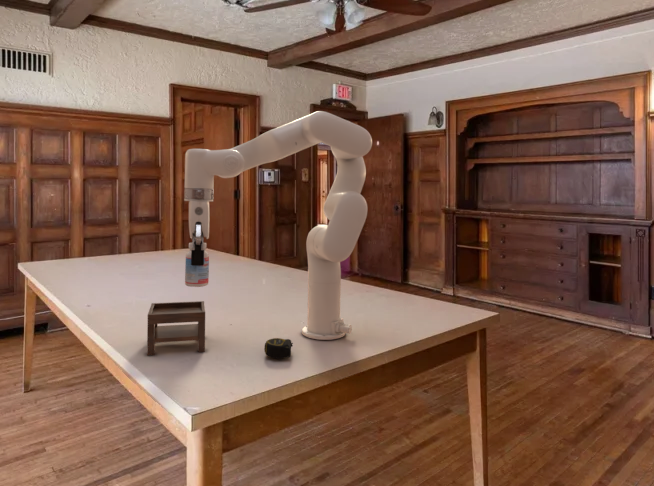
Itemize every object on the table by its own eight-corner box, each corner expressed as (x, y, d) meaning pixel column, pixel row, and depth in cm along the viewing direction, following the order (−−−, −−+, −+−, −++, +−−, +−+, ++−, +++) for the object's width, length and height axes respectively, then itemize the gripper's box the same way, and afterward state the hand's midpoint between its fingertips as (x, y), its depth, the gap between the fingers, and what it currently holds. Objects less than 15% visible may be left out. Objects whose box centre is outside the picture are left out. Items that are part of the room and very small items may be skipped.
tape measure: (290, 362, 112) (291, 346, 112) (262, 360, 113) (262, 345, 113) (292, 352, 119) (292, 337, 119) (266, 351, 119) (266, 336, 119)
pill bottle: (202, 288, 120) (203, 244, 120) (180, 286, 121) (181, 243, 121) (212, 283, 126) (213, 242, 126) (191, 282, 127) (192, 241, 127)
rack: (203, 337, 130) (204, 301, 130) (204, 351, 118) (205, 312, 118) (151, 340, 127) (151, 303, 127) (147, 355, 115) (147, 314, 115)
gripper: (214, 196, 116) (213, 268, 116) (211, 195, 132) (210, 258, 133) (183, 195, 114) (182, 268, 114) (184, 195, 131) (183, 258, 131)
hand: (197, 262), depth 123 cm, fingers closed on pill bottle, 6 cm apart
